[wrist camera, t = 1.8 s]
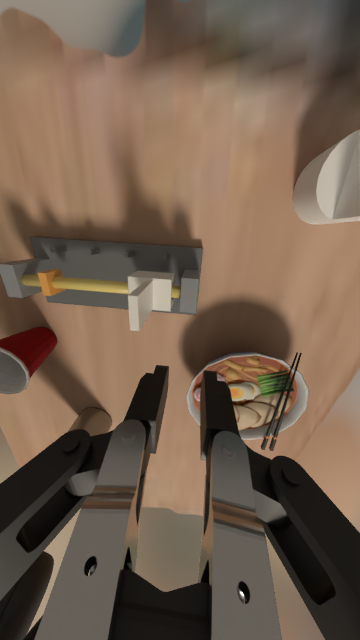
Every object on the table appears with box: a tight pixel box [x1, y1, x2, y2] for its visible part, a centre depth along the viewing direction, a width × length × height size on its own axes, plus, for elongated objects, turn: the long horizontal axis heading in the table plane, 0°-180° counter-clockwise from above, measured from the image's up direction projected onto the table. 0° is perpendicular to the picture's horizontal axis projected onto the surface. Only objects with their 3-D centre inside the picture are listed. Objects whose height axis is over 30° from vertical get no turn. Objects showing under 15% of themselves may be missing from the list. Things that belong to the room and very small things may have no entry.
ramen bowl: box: [186, 352, 309, 451], centre depth 38 cm, size 25×23×8 cm
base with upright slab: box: [293, 129, 360, 225], centre depth 21 cm, size 9×9×12 cm
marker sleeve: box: [128, 271, 175, 331], centre depth 24 cm, size 6×5×12 cm
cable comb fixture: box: [0, 237, 203, 315], centre depth 30 cm, size 30×12×9 cm, turn 87°
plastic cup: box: [0, 327, 57, 394], centre depth 37 cm, size 11×11×12 cm
